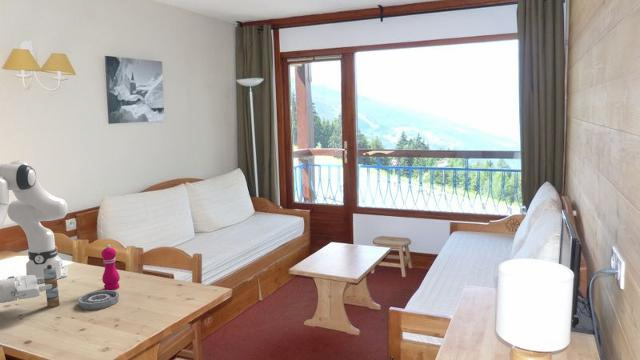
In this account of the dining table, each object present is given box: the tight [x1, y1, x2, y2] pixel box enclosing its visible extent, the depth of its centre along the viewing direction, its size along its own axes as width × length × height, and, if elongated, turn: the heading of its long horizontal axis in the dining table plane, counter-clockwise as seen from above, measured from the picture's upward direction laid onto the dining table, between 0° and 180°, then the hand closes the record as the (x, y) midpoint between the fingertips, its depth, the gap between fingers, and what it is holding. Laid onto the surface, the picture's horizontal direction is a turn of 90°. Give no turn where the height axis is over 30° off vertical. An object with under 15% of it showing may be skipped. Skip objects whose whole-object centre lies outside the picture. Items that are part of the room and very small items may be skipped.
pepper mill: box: [101, 244, 121, 291], centre depth 225 cm, size 7×7×20 cm
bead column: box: [44, 265, 61, 308], centre depth 207 cm, size 4×4×17 cm
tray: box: [77, 289, 120, 311], centre depth 209 cm, size 15×15×3 cm
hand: (50, 282), depth 207 cm, fingers open, 8 cm apart
